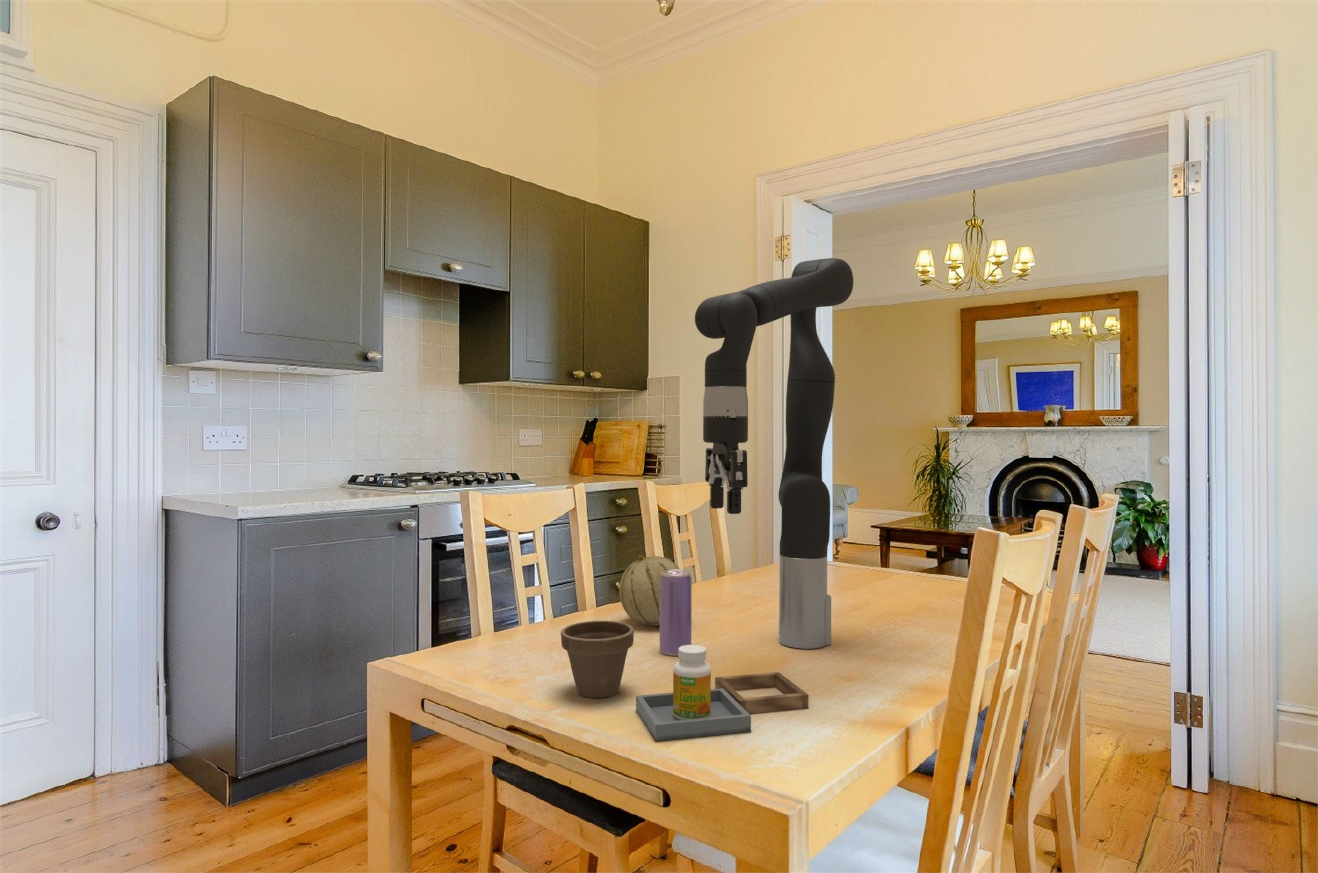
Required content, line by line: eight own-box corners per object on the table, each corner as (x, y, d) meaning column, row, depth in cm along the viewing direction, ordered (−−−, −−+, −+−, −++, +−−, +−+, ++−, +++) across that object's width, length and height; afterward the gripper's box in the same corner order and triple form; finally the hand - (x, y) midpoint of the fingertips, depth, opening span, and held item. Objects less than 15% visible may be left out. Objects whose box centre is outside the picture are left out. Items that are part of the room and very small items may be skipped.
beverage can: (688, 657, 139) (688, 576, 139) (656, 655, 140) (656, 574, 140) (693, 648, 145) (693, 570, 144) (662, 646, 146) (663, 568, 146)
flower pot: (572, 709, 113) (572, 641, 113) (552, 685, 123) (552, 624, 123) (644, 699, 117) (644, 634, 117) (619, 677, 128) (619, 617, 128)
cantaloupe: (701, 626, 161) (701, 556, 161) (643, 637, 153) (643, 562, 152) (661, 612, 173) (662, 547, 173) (606, 621, 165) (606, 552, 165)
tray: (722, 702, 116) (722, 688, 116) (750, 731, 105) (751, 715, 105) (636, 710, 112) (636, 695, 112) (655, 741, 101) (655, 725, 101)
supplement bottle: (675, 724, 106) (675, 654, 106) (671, 709, 111) (671, 643, 111) (713, 723, 106) (713, 653, 106) (707, 708, 112) (708, 643, 112)
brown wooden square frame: (778, 684, 124) (778, 672, 124) (808, 708, 114) (808, 694, 114) (715, 689, 122) (715, 677, 122) (739, 714, 111) (739, 701, 111)
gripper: (691, 415, 133) (691, 507, 133) (718, 413, 120) (718, 516, 120) (731, 415, 135) (731, 506, 135) (762, 413, 121) (762, 515, 122)
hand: (725, 510), depth 128 cm, fingers open, 8 cm apart
